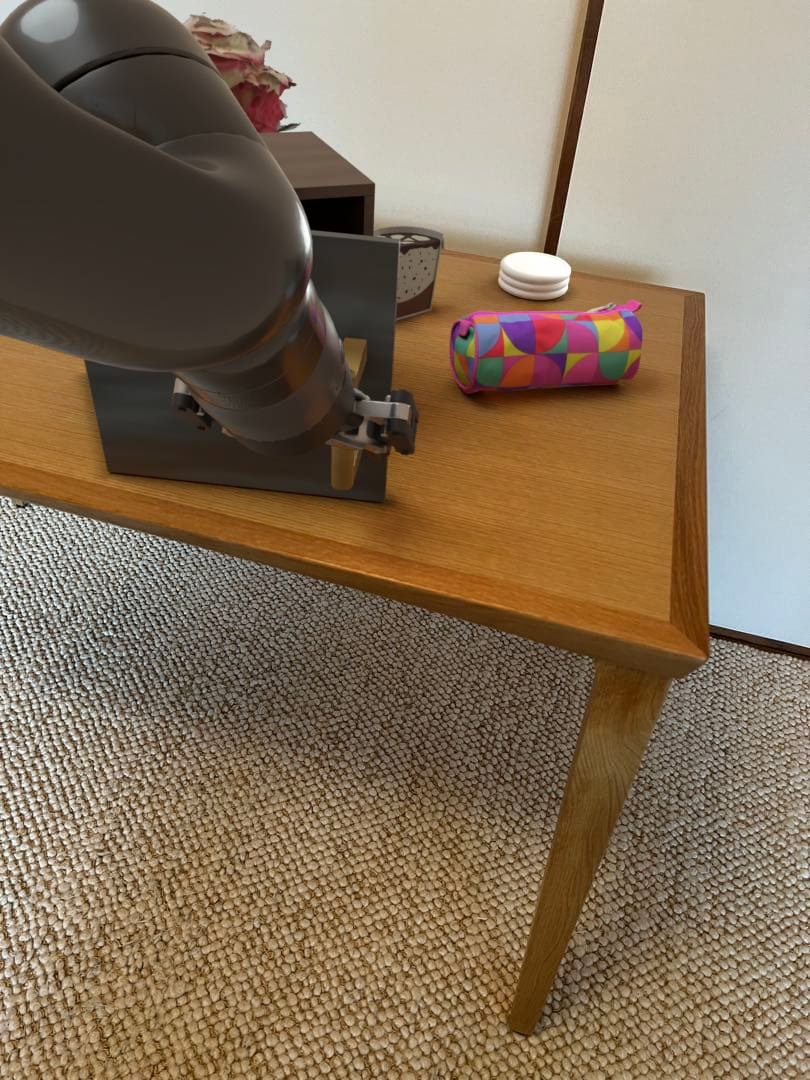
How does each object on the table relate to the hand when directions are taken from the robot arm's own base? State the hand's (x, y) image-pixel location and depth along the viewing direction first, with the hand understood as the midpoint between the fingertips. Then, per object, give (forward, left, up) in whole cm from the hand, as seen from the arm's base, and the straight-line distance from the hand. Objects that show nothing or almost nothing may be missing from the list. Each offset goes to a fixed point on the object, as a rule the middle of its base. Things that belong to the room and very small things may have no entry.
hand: (316, 439), depth 56 cm
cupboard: (0, +32, -14) cm, 35 cm away
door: (-4, +13, -14) cm, 19 cm away
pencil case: (+35, +25, -14) cm, 46 cm away
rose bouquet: (+8, +72, -14) cm, 73 cm away
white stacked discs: (+49, +51, -14) cm, 72 cm away
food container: (+26, +49, -14) cm, 57 cm away
